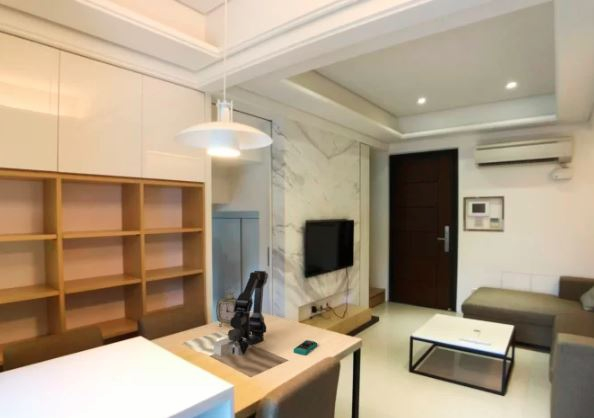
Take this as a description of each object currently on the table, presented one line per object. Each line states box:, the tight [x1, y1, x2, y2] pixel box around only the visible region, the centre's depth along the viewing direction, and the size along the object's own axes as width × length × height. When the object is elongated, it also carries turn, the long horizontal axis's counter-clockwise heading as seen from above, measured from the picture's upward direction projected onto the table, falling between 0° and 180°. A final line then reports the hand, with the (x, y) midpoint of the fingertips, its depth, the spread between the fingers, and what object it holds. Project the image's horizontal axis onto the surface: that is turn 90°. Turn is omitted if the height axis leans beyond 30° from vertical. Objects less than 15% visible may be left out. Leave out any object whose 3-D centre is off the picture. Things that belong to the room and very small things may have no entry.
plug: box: [217, 337, 242, 356], centre depth 182 cm, size 4×19×4 cm, turn 48°
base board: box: [182, 331, 290, 378], centre depth 180 cm, size 24×57×1 cm, turn 48°
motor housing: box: [214, 334, 252, 359], centre depth 180 cm, size 20×6×6 cm, turn 138°
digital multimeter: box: [293, 339, 318, 356], centre depth 186 cm, size 7×15×3 cm, turn 152°
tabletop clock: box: [215, 286, 240, 329], centre depth 220 cm, size 14×9×25 cm, turn 68°
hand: (243, 353), depth 174 cm, fingers closed
